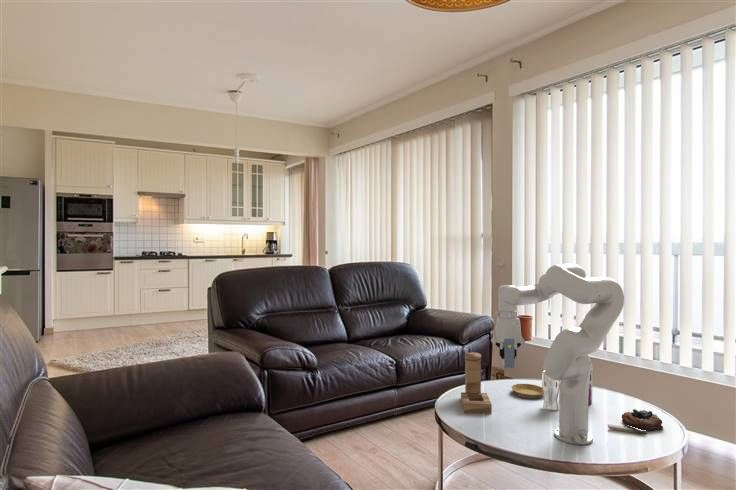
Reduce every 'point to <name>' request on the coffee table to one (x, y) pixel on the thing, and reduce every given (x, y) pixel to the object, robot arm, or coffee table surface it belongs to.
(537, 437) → the coffee table surface
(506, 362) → the grey box with cap
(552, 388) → the white vase
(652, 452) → the coffee table surface
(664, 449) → the coffee table surface
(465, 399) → the wooden square frame
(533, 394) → the plant saucer
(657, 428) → the pastry
